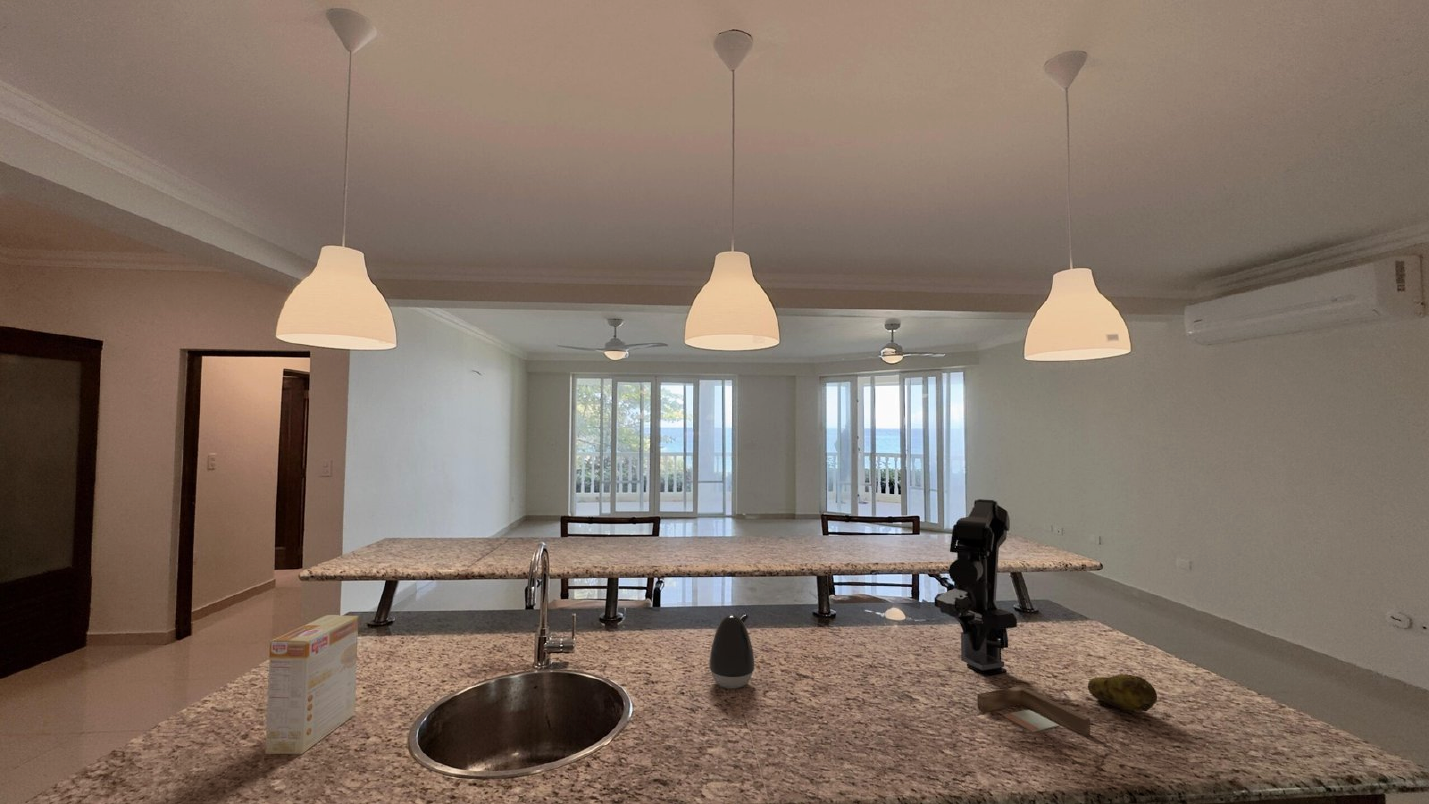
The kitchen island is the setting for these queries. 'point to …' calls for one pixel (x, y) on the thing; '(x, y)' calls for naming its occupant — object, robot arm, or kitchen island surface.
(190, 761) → the kitchen island surface
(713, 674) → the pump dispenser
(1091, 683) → the potato
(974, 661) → the bracket
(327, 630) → the coffeecake box
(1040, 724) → the pad
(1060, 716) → the wooden l-shaped block
